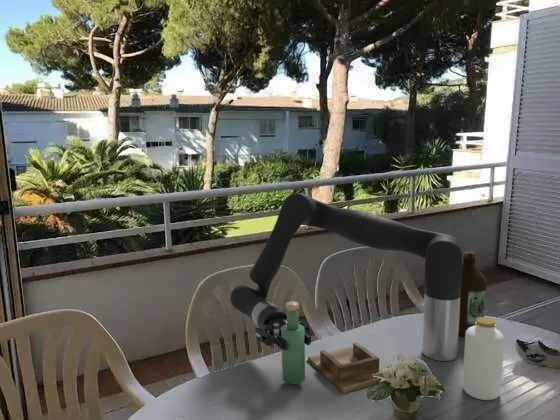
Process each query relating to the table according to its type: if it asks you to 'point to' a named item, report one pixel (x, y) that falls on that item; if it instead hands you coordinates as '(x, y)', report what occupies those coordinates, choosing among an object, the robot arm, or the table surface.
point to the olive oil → (471, 293)
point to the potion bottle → (483, 360)
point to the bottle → (293, 347)
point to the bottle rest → (348, 367)
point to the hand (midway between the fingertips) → (297, 343)
